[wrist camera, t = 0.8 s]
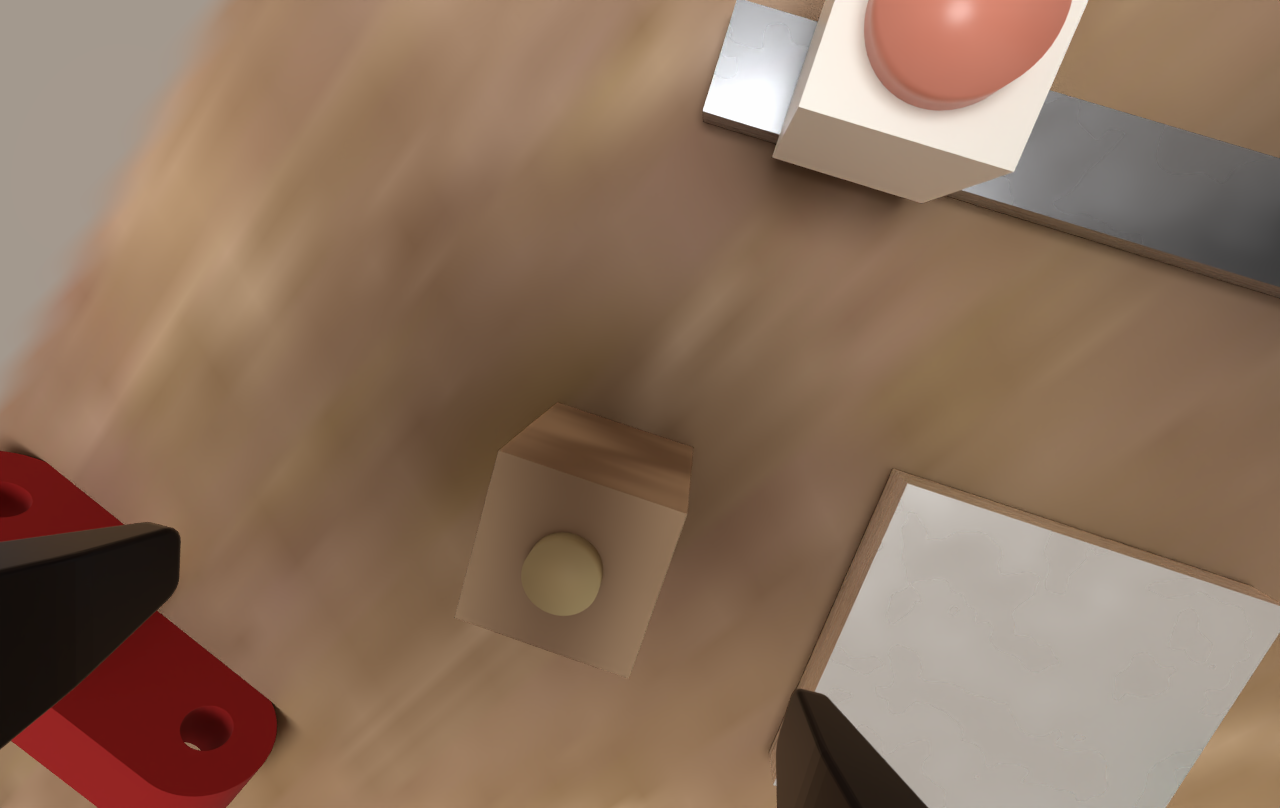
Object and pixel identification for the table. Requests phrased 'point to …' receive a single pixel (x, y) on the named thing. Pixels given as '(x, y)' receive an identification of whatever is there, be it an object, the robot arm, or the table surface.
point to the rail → (1059, 164)
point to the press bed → (1030, 655)
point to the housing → (577, 537)
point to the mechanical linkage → (136, 688)
